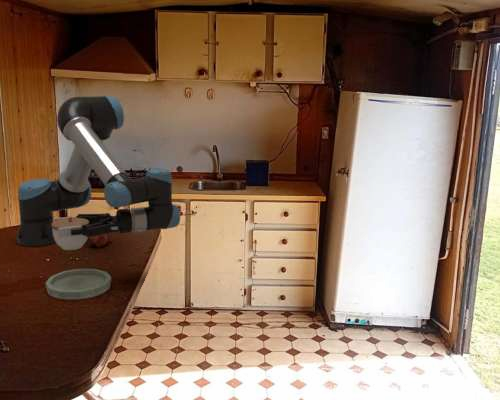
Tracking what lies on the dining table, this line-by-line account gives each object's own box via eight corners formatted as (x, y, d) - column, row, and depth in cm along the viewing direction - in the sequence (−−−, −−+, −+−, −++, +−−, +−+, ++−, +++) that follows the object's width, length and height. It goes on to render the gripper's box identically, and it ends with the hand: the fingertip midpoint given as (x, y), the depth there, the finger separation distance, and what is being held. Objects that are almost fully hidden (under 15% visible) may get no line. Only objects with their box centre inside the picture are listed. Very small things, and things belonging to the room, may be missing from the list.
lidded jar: (79, 254, 153) (77, 223, 151) (45, 251, 155) (43, 220, 153) (96, 243, 164) (95, 213, 161) (65, 240, 166) (63, 211, 164)
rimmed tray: (58, 275, 169) (57, 268, 169) (116, 276, 170) (115, 269, 169) (38, 299, 151) (37, 291, 151) (102, 300, 152) (102, 292, 152)
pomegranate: (90, 255, 195) (112, 239, 195) (77, 240, 193) (99, 224, 193) (94, 251, 202) (115, 235, 202) (81, 236, 201) (102, 220, 201)
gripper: (139, 242, 156) (61, 251, 147) (123, 222, 177) (53, 229, 167) (138, 217, 154) (59, 225, 145) (122, 200, 175) (51, 206, 166)
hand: (56, 227), depth 156 cm, fingers closed on lidded jar, 11 cm apart
